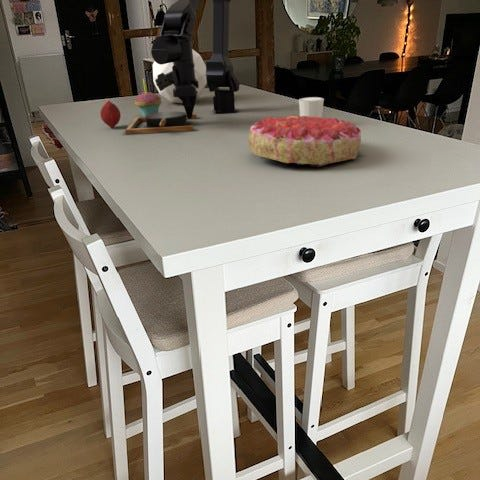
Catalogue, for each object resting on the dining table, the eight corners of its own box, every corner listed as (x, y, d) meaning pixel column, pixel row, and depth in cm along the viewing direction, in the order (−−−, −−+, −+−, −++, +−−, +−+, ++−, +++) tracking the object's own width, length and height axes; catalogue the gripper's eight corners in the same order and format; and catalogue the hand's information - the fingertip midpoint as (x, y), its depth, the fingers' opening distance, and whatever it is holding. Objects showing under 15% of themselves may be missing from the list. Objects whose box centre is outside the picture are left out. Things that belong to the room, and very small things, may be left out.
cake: (231, 162, 110) (232, 122, 106) (267, 140, 131) (268, 107, 127) (347, 175, 103) (352, 133, 99) (365, 150, 124) (371, 115, 120)
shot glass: (307, 129, 140) (307, 101, 137) (293, 125, 146) (293, 98, 142) (328, 125, 143) (329, 98, 139) (313, 122, 148) (314, 95, 144)
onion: (126, 127, 156) (121, 98, 152) (110, 130, 152) (105, 101, 148) (115, 125, 159) (110, 97, 155) (99, 128, 156) (94, 100, 152)
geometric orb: (195, 122, 192) (206, 78, 174) (143, 104, 189) (148, 58, 171) (206, 88, 200) (217, 43, 183) (155, 71, 197) (162, 23, 180)
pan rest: (196, 117, 163) (196, 113, 162) (193, 130, 146) (192, 126, 146) (136, 121, 163) (135, 117, 163) (125, 134, 147) (125, 129, 146)
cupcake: (160, 117, 166) (155, 76, 160) (134, 118, 167) (128, 78, 161) (164, 112, 174) (159, 73, 167) (139, 113, 174) (133, 74, 168)
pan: (188, 120, 160) (186, 109, 158) (184, 134, 143) (183, 121, 141) (149, 122, 160) (147, 111, 158) (141, 136, 143) (139, 124, 141)
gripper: (158, 59, 154) (165, 114, 162) (150, 65, 138) (159, 126, 146) (195, 56, 154) (201, 112, 162) (192, 62, 138) (198, 123, 146)
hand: (189, 118), depth 154 cm, fingers closed, pressing on pan
